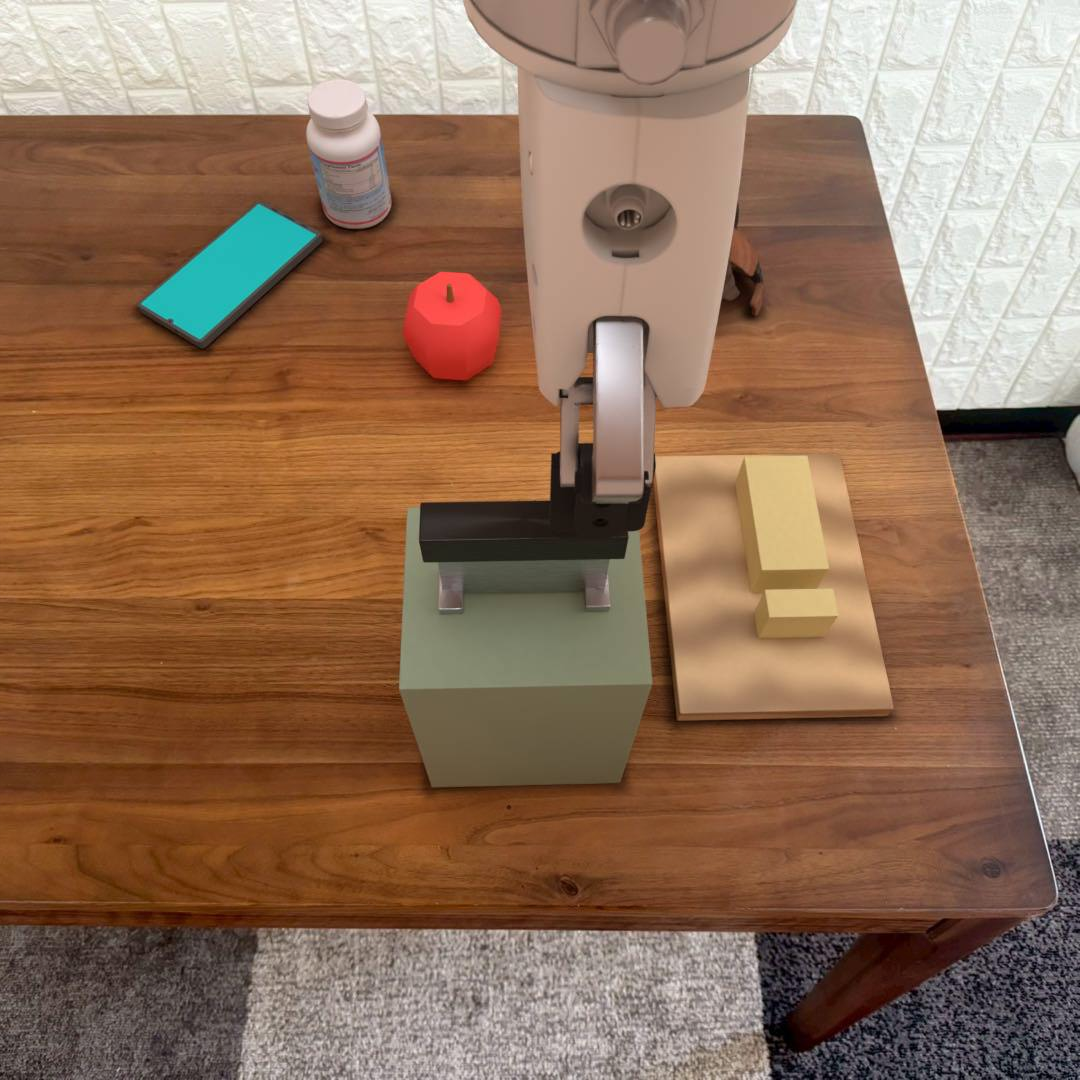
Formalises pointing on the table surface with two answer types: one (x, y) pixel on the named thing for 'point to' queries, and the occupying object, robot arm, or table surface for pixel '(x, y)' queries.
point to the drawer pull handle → (512, 552)
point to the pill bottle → (347, 155)
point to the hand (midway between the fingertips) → (591, 410)
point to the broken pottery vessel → (743, 268)
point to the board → (728, 605)
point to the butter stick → (780, 523)
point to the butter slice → (795, 613)
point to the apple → (452, 325)
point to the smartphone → (230, 274)
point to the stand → (523, 678)
